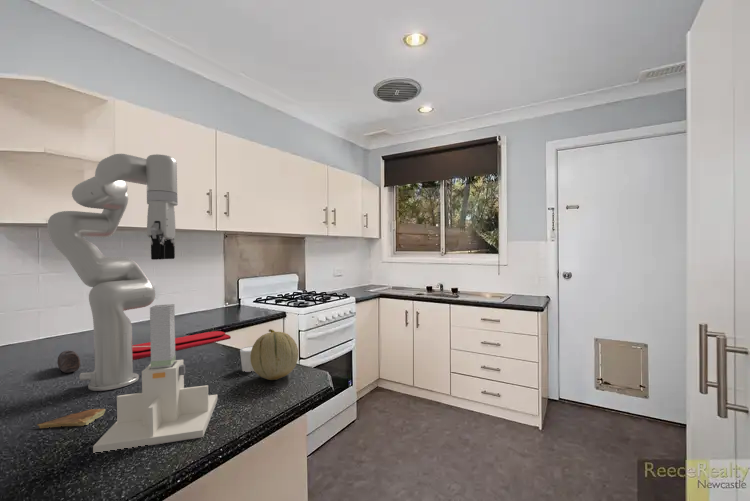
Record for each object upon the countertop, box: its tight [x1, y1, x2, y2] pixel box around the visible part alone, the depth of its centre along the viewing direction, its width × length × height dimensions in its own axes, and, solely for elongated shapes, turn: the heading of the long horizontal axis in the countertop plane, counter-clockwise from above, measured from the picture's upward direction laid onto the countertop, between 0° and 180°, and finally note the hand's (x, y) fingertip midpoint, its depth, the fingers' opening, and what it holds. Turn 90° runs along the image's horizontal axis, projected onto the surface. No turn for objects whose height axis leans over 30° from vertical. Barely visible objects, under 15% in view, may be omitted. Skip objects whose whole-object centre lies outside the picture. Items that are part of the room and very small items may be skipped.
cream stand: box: [92, 359, 219, 454], centre depth 82 cm, size 20×20×14 cm
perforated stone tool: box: [56, 350, 81, 374], centre depth 123 cm, size 15×5×7 cm, turn 49°
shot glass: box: [239, 345, 255, 373], centre depth 120 cm, size 7×7×7 cm
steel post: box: [149, 303, 177, 369], centre depth 82 cm, size 4×4×18 cm
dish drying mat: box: [132, 330, 231, 361], centre depth 152 cm, size 16×41×4 cm, turn 141°
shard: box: [36, 408, 106, 429], centre depth 85 cm, size 11×8×2 cm
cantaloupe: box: [250, 328, 299, 381], centre depth 110 cm, size 15×15×15 cm
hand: (163, 259), depth 100 cm, fingers open, 9 cm apart
